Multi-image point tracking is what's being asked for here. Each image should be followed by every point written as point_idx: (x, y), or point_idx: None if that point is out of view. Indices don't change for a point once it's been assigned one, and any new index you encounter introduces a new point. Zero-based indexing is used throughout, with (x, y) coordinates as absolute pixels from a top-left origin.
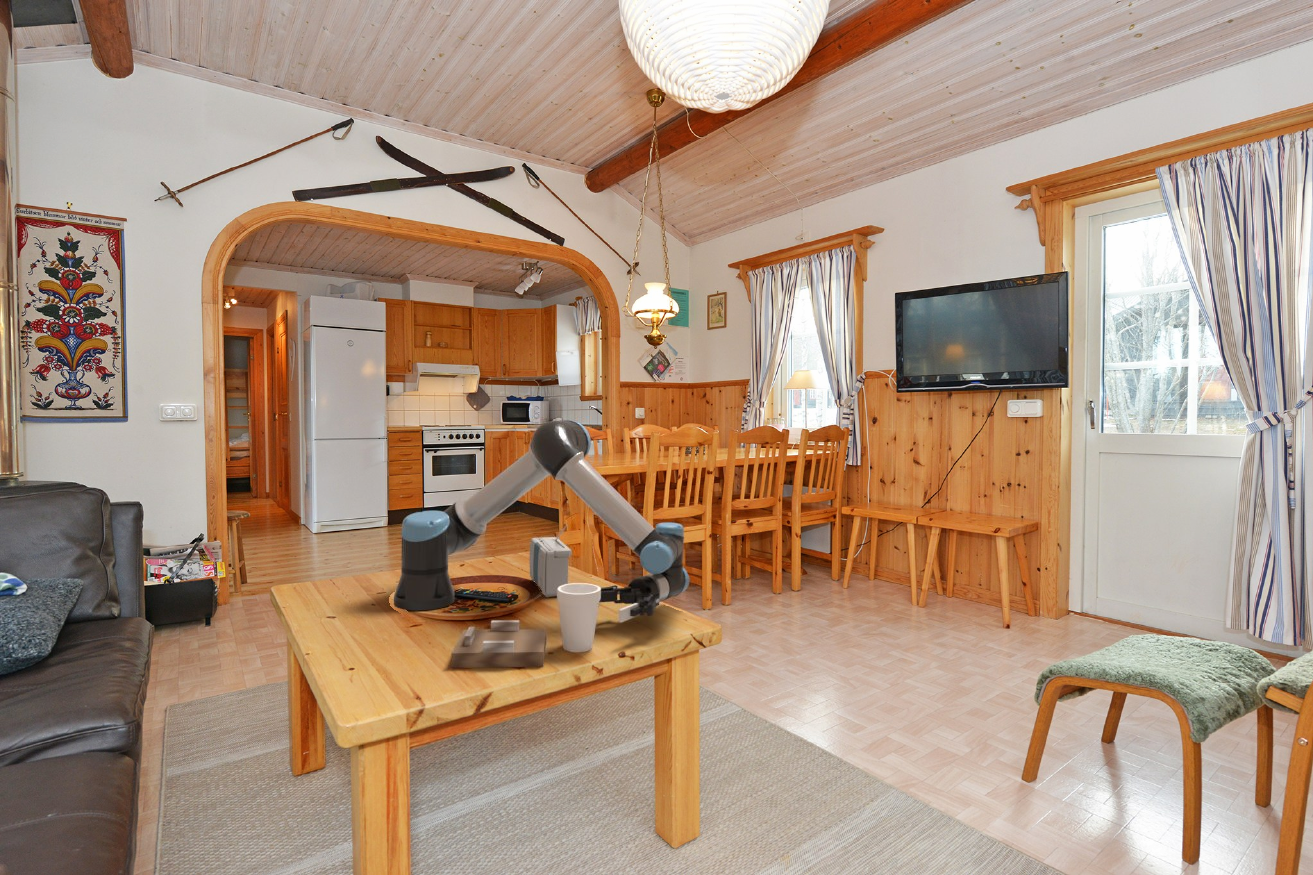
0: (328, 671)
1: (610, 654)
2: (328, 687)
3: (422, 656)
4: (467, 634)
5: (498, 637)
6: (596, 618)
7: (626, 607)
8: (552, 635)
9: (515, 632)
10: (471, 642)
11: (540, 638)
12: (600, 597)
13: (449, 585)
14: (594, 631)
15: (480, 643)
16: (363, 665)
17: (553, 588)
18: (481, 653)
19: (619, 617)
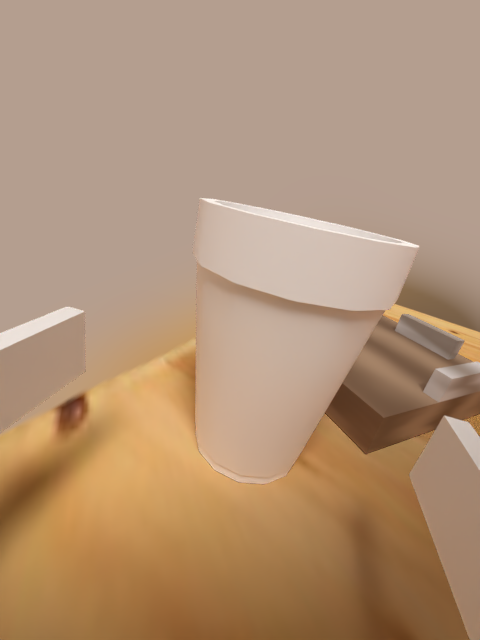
0: (459, 328)
1: (117, 405)
2: (409, 309)
3: None
4: (414, 318)
5: (405, 357)
6: (200, 350)
7: (19, 332)
8: (419, 533)
9: (415, 382)
10: (406, 334)
11: None
12: (200, 254)
13: None
14: (198, 396)
15: (393, 336)
16: (459, 337)
17: None
18: None
19: (80, 349)
